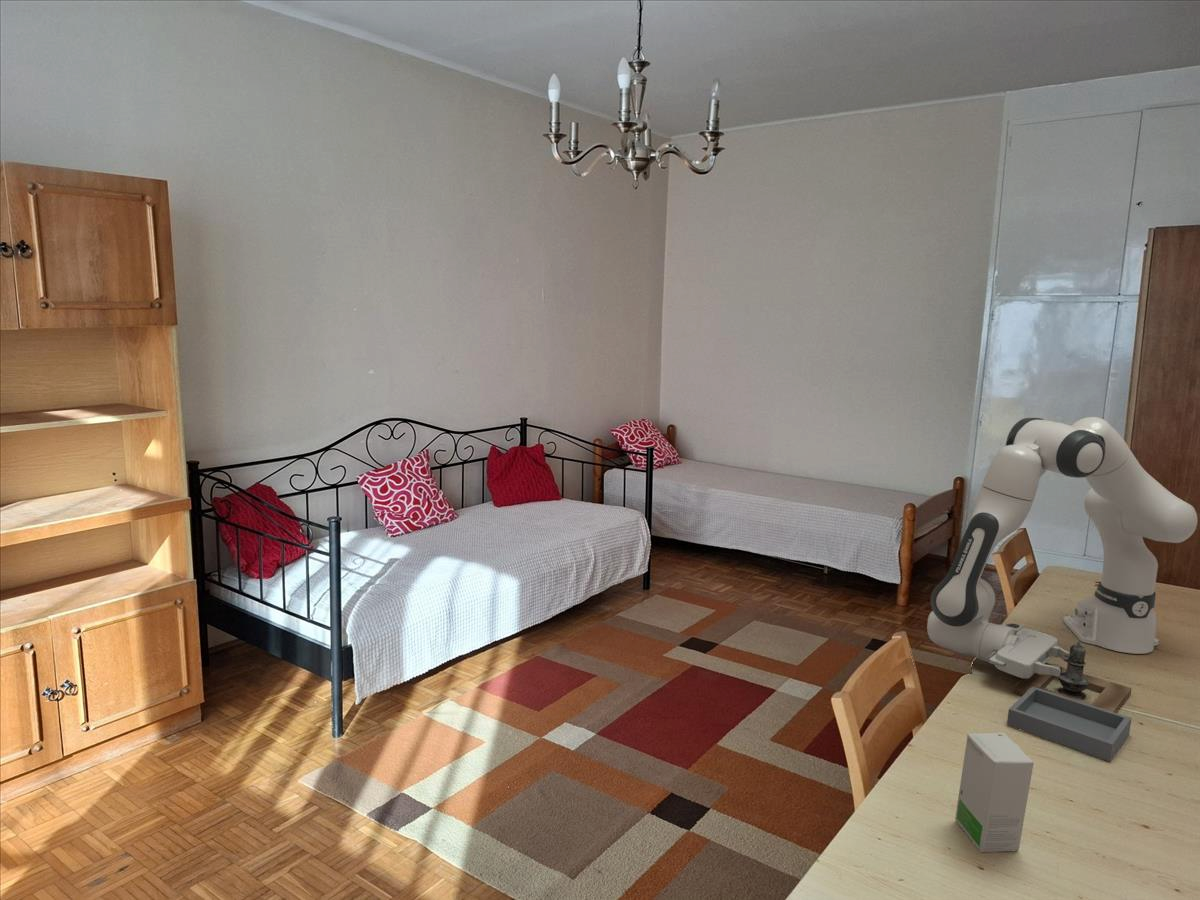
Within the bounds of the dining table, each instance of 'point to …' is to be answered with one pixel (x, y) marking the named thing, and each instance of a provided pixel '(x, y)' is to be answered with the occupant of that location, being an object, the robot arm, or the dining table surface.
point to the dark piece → (1074, 674)
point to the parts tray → (1070, 723)
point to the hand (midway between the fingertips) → (1067, 665)
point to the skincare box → (993, 791)
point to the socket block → (1110, 692)
